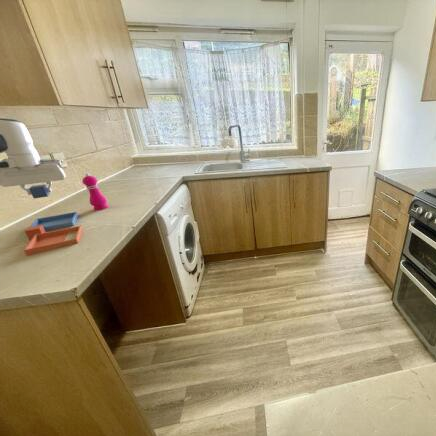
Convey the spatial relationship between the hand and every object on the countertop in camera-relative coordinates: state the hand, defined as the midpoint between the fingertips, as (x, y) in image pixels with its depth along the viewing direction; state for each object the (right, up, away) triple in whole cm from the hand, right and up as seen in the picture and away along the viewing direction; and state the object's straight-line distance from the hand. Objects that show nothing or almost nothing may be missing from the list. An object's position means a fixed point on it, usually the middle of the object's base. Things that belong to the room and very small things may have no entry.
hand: (40, 193), depth 105 cm
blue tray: (-3, -14, +10) cm, 18 cm away
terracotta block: (0, -19, -1) cm, 19 cm away
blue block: (0, -1, +1) cm, 1 cm away
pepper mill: (+4, -6, +29) cm, 29 cm away
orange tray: (+13, -21, -6) cm, 25 cm away
